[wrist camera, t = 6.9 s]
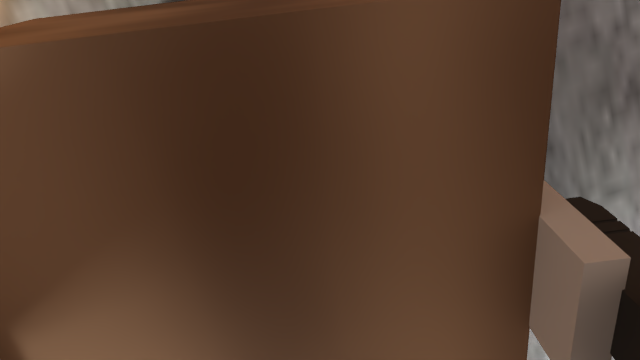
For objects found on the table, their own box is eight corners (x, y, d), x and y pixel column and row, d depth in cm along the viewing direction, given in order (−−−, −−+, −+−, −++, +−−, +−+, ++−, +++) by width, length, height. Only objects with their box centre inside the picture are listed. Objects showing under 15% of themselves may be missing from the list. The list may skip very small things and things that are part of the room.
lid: (144, 336, 17) (78, 509, 12) (34, 18, 13) (-155, 66, 7) (447, 299, 18) (517, 454, 12) (447, -32, 13) (563, -21, 7)
